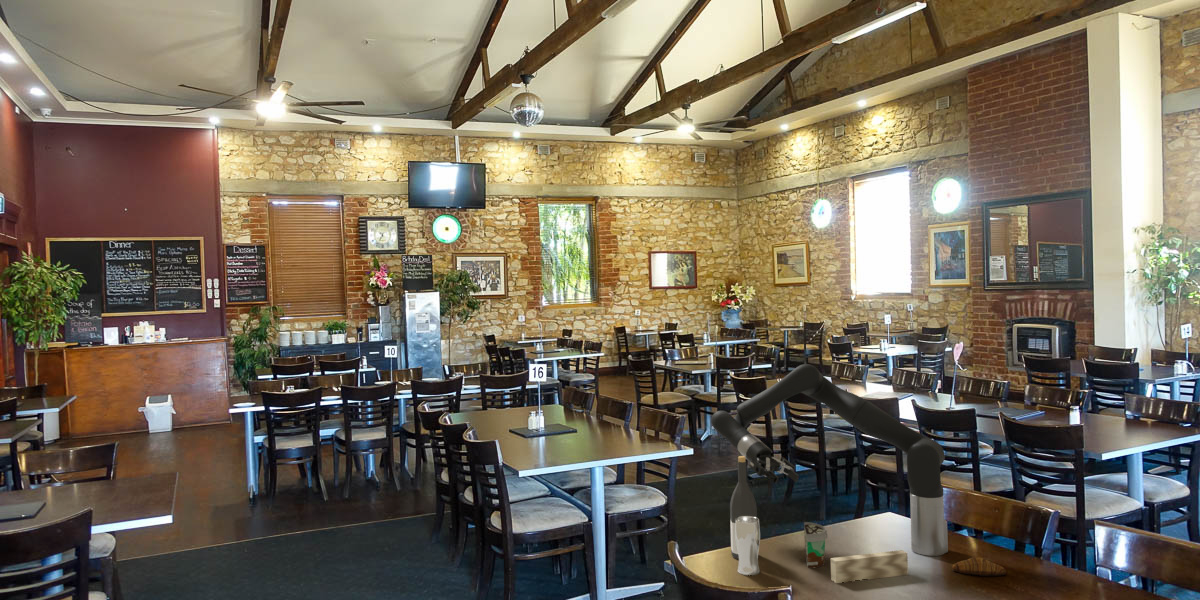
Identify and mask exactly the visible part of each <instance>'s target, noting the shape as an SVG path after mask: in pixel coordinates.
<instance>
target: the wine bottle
mask: <svg viewBox="0 0 1200 600" xmlns="http://www.w3.org/2000/svg"><path fill="white" fill-rule="evenodd" d="M737 458H738V461H737V475H738V482H737V483H736V486H735V488H734V490H733V492H732V494H731V498H730V503H729V512H730V513H729V514H730V515H729V519H730V552H731V556H732V557H733V559H736V560H739V555H738V550H737V545H736V539H735V522H736V518H737V517H739V516H753V517H756V518H758V511H757V510H758V508H757V503H756V499H755V496H754V493H753V491H752V490H751V487H750V486H749V484H748V481H747V461H746V458H745V456H742V455H739V456H738V457H737Z"/></svg>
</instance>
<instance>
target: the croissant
mask: <svg viewBox="0 0 1200 600" xmlns="http://www.w3.org/2000/svg"><path fill="white" fill-rule="evenodd" d="M951 569H952V572H955V573H959V574H964V575H971V574H972V576H978V575H979V577H987V576H988V577H990V576H991V577H996V576H997V577H998V576H1006V572H1007V571H1006V568H1004V567H1003V566H1001V565H1000V564H997V563H994V562H992V561H989V560H987V559H986V558H984V557H981V556H973V557H970V558H968V559H964V560H961V561H958V562H956V563H954V564H952V567H951Z"/></svg>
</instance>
